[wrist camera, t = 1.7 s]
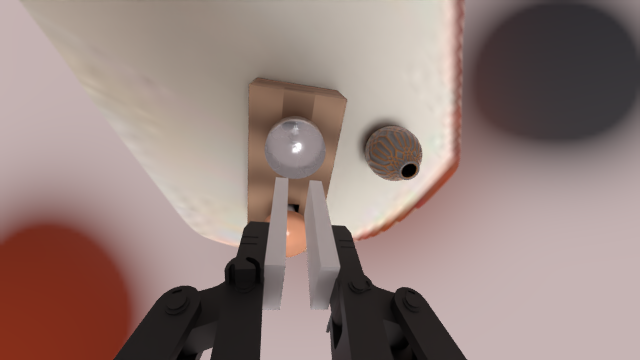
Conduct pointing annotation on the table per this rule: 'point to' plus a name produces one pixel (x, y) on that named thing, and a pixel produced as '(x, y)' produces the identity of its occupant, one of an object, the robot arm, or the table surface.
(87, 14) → the table surface
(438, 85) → the table surface
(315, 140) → the grey plunger
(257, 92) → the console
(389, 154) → the vase
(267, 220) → the terracotta plunger
